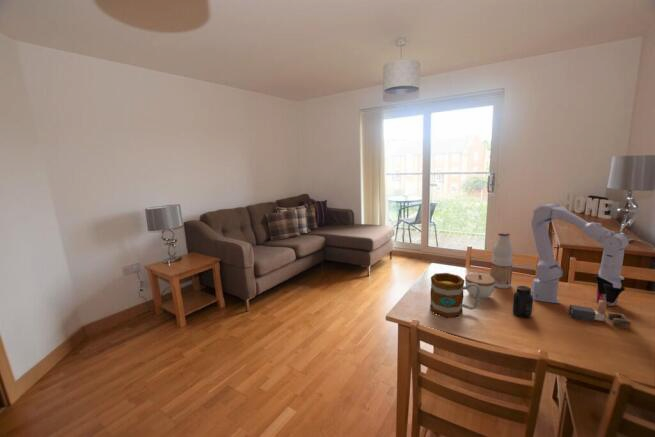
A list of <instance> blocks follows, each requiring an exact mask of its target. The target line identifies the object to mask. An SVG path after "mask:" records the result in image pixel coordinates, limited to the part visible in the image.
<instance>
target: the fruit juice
mask: <svg viewBox="0 0 655 437" xmlns="http://www.w3.org/2000/svg"><path fill="white" fill-rule="evenodd" d="M497 236H498V239H497V241H496V242H495V243H494V245H493V246H492V256H491V262H490V275H489V276H491V277H493V278H494V279H495V284H494V288H497V289H509V288H511V286H512V278H513V277H512V275H513V265H514V260H513V255H514V252H515V250H514V248H513V246H512V242H511V241H510V236H511V233H510V232H507V231H499V232H498V235H497Z"/></svg>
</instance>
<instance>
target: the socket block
mask: <svg viewBox="0 0 655 437" xmlns="http://www.w3.org/2000/svg"><path fill="white" fill-rule="evenodd" d="M606 319H607V320H608V321H609V322H610V323H611V325H612V326H613V327H616V328H622V329H630V328H631V324H632V323H631V320H630V319H629V318H628V316H626V315H625V314H623V313H618V312H614V311H613V312H611V311H608V313H607V317H606Z"/></svg>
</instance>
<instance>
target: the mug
mask: <svg viewBox="0 0 655 437" xmlns="http://www.w3.org/2000/svg"><path fill="white" fill-rule="evenodd" d="M430 286H431V287H430V305H429V309H430V308H431V309H430V311H431V310H432V311H433V312H434V313H433V312H432V311H431V312H432V313H433V315H435V314H437V315H436V316H438V315H440V316H439V317H441V316H442V317H441V318H444V319H457V318H460V316H462V314H463V312H464V311H463V308H464V309H469V310H476V308H477V307H478V306H479V300H480V299H479V294H480V288H479V285H477V284H475V283H470V284H468V285H467V286H466V285H465V278H464V279H463V278H462V277H461V276H460V275H458V274H453V273H450V272H442V273H441V272H440V273H439V272H438V273H437V272H436V273H434V274H433V275H431V276H430ZM471 286H475V287H477V294H476V298H475V302H474V305H469V304H465V303H464V302H463V301H464V290H466V291H467V289H468V288H470V287H471Z"/></svg>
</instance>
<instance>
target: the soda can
mask: <svg viewBox="0 0 655 437" xmlns="http://www.w3.org/2000/svg"><path fill="white" fill-rule="evenodd" d="M619 296H620V295H619ZM619 296H618V297H617V299H616V301H615V302H614V303H610V302H607V301H606V294H599V292H598V286H596V291H595V301H597V303H599V300H604V301H606V302H607V303H606V307H613V306H617V305H618V302H619V298H620V297H619Z"/></svg>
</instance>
